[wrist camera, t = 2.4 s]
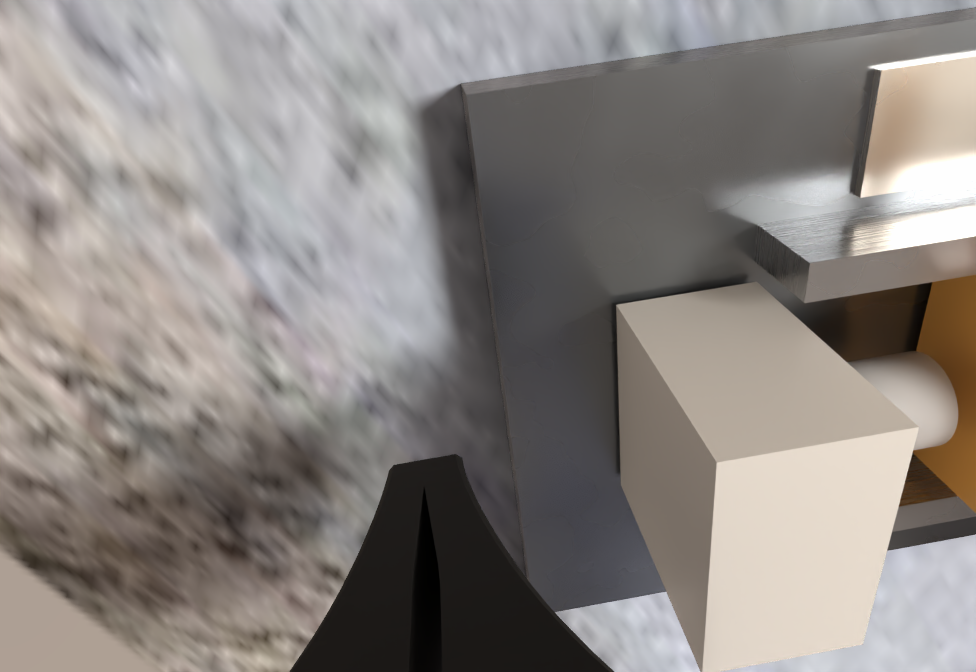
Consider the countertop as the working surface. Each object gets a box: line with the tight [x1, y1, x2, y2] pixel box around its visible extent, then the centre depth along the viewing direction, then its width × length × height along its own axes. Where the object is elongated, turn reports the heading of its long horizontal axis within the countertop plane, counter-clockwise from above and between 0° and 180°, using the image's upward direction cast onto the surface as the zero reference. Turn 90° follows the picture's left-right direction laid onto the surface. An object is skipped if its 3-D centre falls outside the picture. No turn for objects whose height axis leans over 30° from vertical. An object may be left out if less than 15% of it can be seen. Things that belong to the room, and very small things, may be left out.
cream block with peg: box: [616, 282, 958, 672], centre depth 13 cm, size 6×5×5 cm
